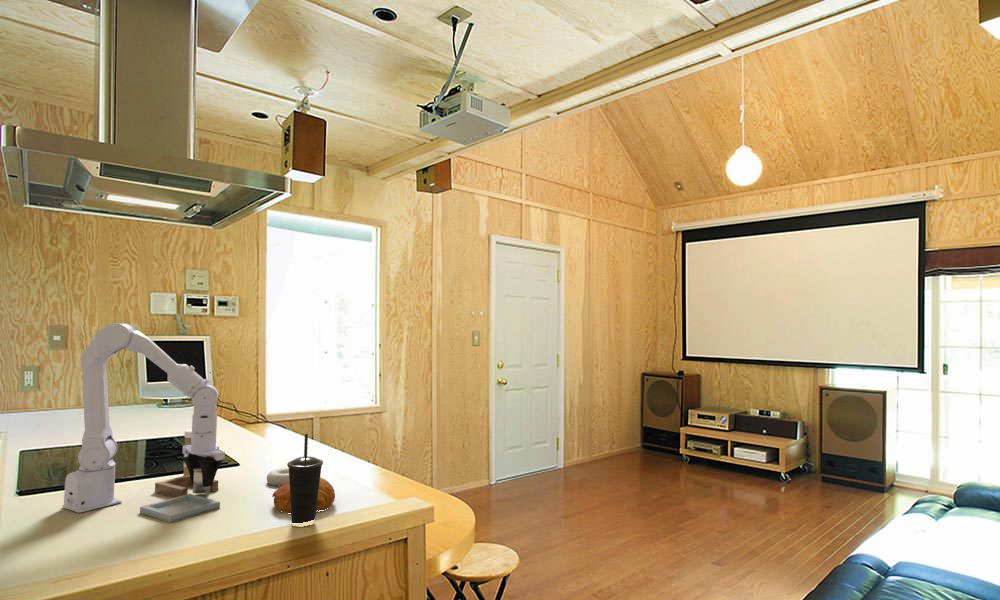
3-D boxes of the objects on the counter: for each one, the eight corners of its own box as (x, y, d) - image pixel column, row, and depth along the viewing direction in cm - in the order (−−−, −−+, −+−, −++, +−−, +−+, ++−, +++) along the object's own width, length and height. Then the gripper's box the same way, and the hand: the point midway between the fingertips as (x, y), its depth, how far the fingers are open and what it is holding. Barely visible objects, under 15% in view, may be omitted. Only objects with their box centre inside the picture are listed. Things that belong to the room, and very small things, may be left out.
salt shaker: (198, 494, 145) (200, 471, 145) (188, 491, 147) (189, 468, 147) (214, 490, 149) (215, 467, 149) (204, 487, 151) (205, 464, 151)
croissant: (328, 503, 151) (329, 471, 152) (338, 512, 137) (340, 478, 138) (269, 508, 145) (271, 475, 146) (274, 518, 131) (276, 482, 132)
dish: (170, 522, 127) (171, 516, 127) (139, 513, 133) (140, 506, 133) (219, 508, 138) (220, 501, 138) (189, 499, 144) (189, 493, 144)
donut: (275, 490, 154) (310, 483, 161) (275, 477, 154) (310, 470, 161) (260, 482, 161) (294, 476, 168) (260, 470, 162) (295, 464, 168)
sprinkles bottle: (197, 479, 162) (199, 431, 163) (179, 479, 162) (181, 431, 162) (203, 474, 167) (205, 428, 167) (186, 475, 166) (188, 428, 167)
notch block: (181, 499, 144) (182, 489, 144) (154, 492, 149) (155, 482, 149) (218, 490, 152) (218, 480, 152) (191, 483, 158) (191, 474, 158)
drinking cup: (300, 532, 123) (303, 438, 124) (277, 525, 127) (281, 434, 128) (328, 522, 130) (331, 433, 131) (305, 515, 134) (308, 429, 135)
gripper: (236, 432, 148) (234, 485, 148) (201, 426, 155) (199, 477, 155) (211, 436, 142) (209, 492, 142) (175, 430, 149) (173, 483, 149)
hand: (202, 484), depth 148 cm, fingers closed on salt shaker, 4 cm apart
